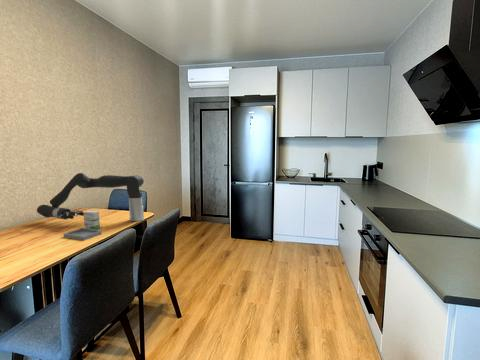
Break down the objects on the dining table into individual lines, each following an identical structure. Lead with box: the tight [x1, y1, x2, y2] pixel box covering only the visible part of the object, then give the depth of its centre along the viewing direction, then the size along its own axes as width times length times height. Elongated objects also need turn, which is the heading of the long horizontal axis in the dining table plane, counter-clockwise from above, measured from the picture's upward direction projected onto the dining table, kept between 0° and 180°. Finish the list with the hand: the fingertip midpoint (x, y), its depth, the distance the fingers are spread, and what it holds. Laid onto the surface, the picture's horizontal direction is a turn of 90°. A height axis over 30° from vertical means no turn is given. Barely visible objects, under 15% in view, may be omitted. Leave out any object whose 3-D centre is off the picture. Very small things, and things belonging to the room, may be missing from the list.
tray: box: [63, 227, 103, 241], centre depth 165 cm, size 13×17×2 cm
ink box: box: [83, 210, 101, 230], centre depth 178 cm, size 9×5×12 cm, turn 71°
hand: (78, 215), depth 181 cm, fingers open, 8 cm apart
